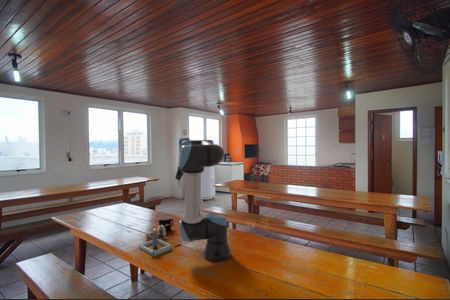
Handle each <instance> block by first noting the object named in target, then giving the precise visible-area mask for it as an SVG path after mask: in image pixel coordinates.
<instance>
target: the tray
mask: <svg viewBox="0 0 450 300" xmlns="http://www.w3.org/2000/svg"><path fill="white" fill-rule="evenodd" d="M151 245H153V240H152V241H149V242H148V241H146V242H143V243H140V244H139V245H138V246H139V249H140V250H143V251H144V252H146V253H148V254H150V256H151V257H153V258H154V257H156V256H159V255H162V254H163V253H167V252H170V251H172V249H173V248H172V244H170V243H168V242H166V241H164V240H163V239H161V240H159V239H158V245H162V246H163V247H160V248H157V249H151V248H149V247H148V246H151Z"/></svg>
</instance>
